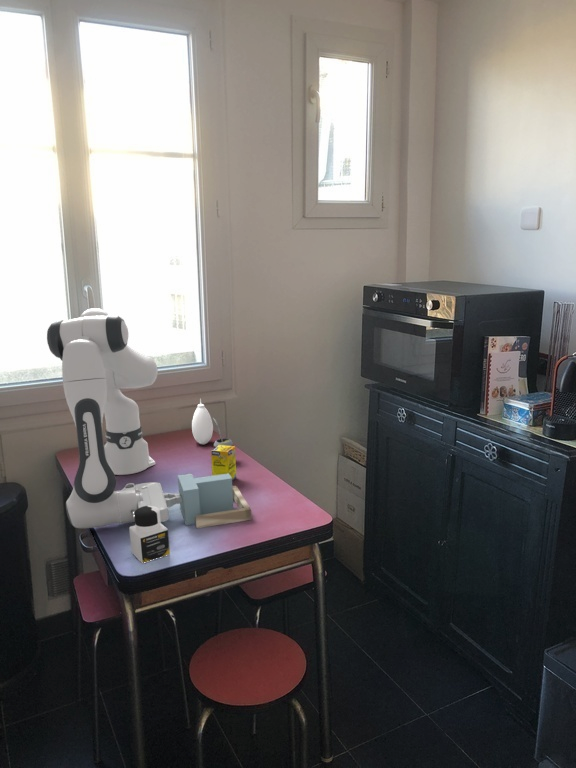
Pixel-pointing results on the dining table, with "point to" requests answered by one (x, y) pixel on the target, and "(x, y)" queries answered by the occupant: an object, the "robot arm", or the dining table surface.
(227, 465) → the supplement box
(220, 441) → the mate gourd
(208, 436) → the white bulb air blower
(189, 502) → the blue block with tab
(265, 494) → the dining table surface
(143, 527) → the medicine bottle
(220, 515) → the frame
